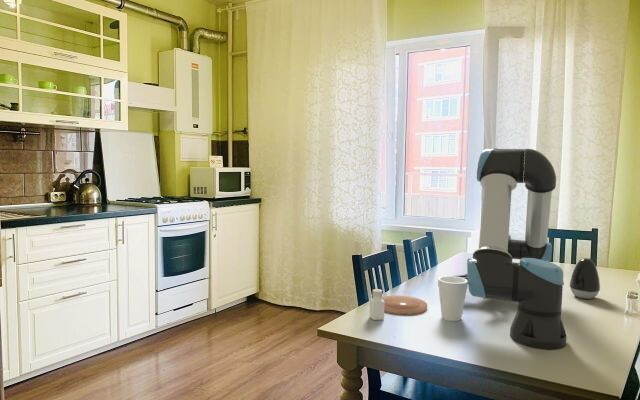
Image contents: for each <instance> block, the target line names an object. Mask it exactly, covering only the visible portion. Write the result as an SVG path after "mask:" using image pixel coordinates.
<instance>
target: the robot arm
mask: <svg viewBox="0 0 640 400" xmlns="http://www.w3.org/2000/svg"><path fill="white" fill-rule="evenodd" d="M476 181H477V182H479V183H480V186H481V188H483V189H484V191H483V193H484V194H483V202H482V211H481V220H480V221H481V222H480V231H479V241H478V242H479V243H478V249H476V250H475V251H473V253H472V257H469V258H467V259H466V268H467V270H466V272H467V273H465V274H464V273H463V274H457V275H454V276H455V277H461V278H464V279H467V281H468V286H467V288H468V293H469V294H470V295H471V296H472V297H476V298H482V299H484V300H485V299H489V300H495V301H496V300H497V301H504V302H505V301H506V302H511V303H517V311H516V314H515V316H514V318H513V320H512V323H511V325H510V329H509V336H510V338H511V339H512V340H514V341H516V342H517V343H519V344H522V345H525V346H527V347H532V348H535V349H542V350H543V349H545V350H557V349H562V348H564V347H566V346H567V339H568V337H567V332H566V329H565V326H564V322H563V318H562V305H563V289H564V285H565V282H564V270H563V269H562V268H561V266H559V265H557V264H556V263H553V262H551V259H552V254H553V253H552V251H553V245H552V243H551V242H548V235H549V234H548V233H549V223H550V213H551V212H550V211H551V204H552V203H551V202H552V193H553V191H554V190H555V189H556V185H557V175H556V171H555V169H554V166H553V164H552V163H551V161H550V160H549V159H548V157H546V156H545V155H544V154H543V153H541V152H540V151H538V150H536V149H532V148H485V149H484V150H483V151H481V153H480V156H479V157H478V162H477V169H476ZM518 184H524V186H525V188H526V189H527V197H526V199H527V200H526V201H527V202H526V215H525V216H526V218H525V219H526V220H525V230H524V231H525V234H524V240H520V239H512V238H511V237H512V236H511V235H510V221H511V220H510V219H511V208H512V207H511V206H512V191H514V190H515V189H516V188H517V186H518ZM513 260H519V262H513Z"/></svg>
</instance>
